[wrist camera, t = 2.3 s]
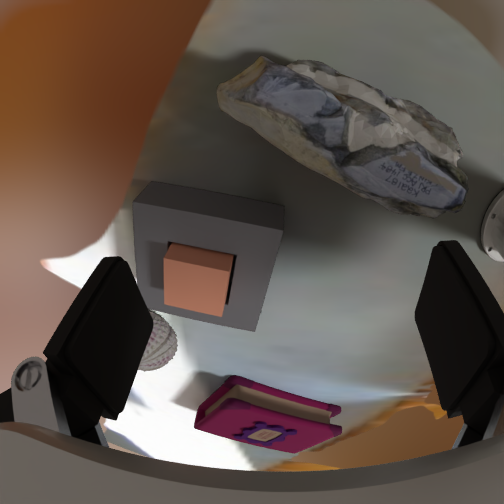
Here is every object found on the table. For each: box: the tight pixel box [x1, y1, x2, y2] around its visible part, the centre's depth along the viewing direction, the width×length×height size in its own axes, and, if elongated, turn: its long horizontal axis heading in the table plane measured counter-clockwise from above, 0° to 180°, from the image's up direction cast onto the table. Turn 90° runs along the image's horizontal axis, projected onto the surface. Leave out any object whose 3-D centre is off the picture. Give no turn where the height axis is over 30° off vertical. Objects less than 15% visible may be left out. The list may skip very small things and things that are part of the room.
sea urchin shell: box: [138, 311, 178, 371], centre depth 48 cm, size 13×14×8 cm
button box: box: [133, 181, 284, 332], centre depth 38 cm, size 16×16×6 cm
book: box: [194, 375, 342, 453], centre depth 63 cm, size 21×28×8 cm
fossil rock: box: [217, 56, 468, 218], centre depth 24 cm, size 21×10×15 cm, turn 65°
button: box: [164, 242, 233, 317], centre depth 35 cm, size 7×7×3 cm
